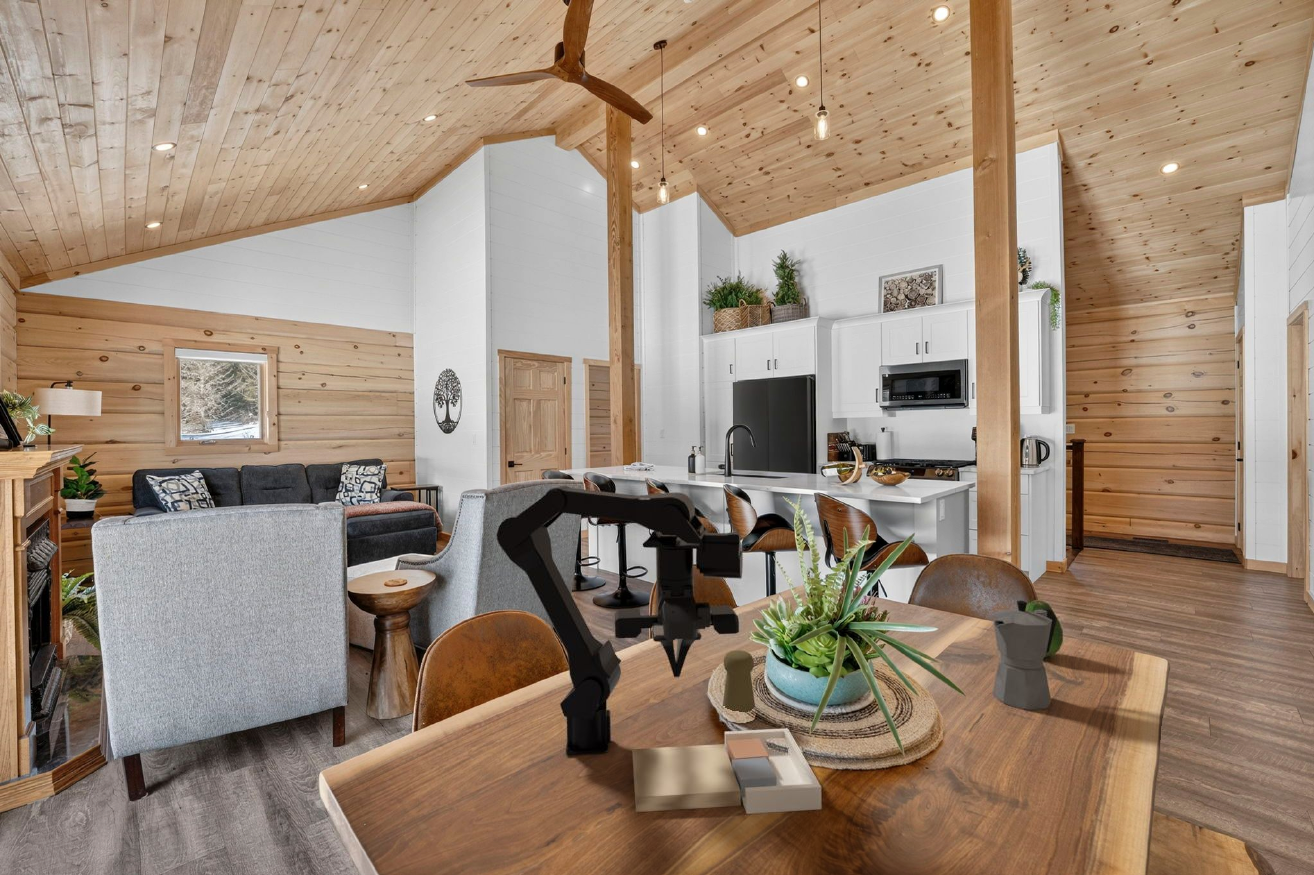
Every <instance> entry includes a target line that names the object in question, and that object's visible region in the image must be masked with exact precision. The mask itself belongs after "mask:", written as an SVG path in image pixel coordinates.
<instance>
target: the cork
mask: <svg viewBox="0 0 1314 875" xmlns="http://www.w3.org/2000/svg"><path fill="white" fill-rule="evenodd" d="M754 662H755V661H754V657H753V655H752V654H750V652H748V651H746V650H742V649H741V650H740V649H738V650H737V649H736V650H731V651H728V652H726V654H725V655H724V657H723V668H724V670H725V671H726V675H725V684H724V692H723V693H724V694H723V700H722V701H723V702H722V707H723V706H725V708H727V709H730V710H732V711H739V712H748V711H751V710H752V709H753V708H754V707H755V708H756V702H755V695H754V689H753V681H752V675H751V672H752V671H753V670H754V665H755V663H754Z"/></svg>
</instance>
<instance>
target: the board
mask: <svg viewBox="0 0 1314 875" xmlns="http://www.w3.org/2000/svg"><path fill="white" fill-rule="evenodd" d="M632 772H633V788H634V800H635V801H634V803H635V804H634V805H635V813H642V812H644V813H645V812H658V811H659V812H660V811H674V810H675V811H676V810H677V811H678V810H691V809H707V808H724V807H741V804H742V803H741V802H742V799H741V790H740V788H739V785H738V782H737V779H736V776H735V773H734V771H733V768H732V765H731V762H730V759H729V756H728V753H727V751H726V748H725V743H722V744H721V743H720V744H705V745H704V744H703V745H702V744H701V745H686V746H685V745H683V746H667V747H665V746H664V747H650V748H649V747H647V748H632Z"/></svg>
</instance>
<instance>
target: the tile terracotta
mask: <svg viewBox="0 0 1314 875" xmlns="http://www.w3.org/2000/svg"><path fill="white" fill-rule="evenodd" d="M727 753H728V756H729V759H730V762H731V765H732V760H736V759H749V758H762V757H766V758H767V760H768V762H769V755H768V753H767V751H766V750H765V748H764V746H763V744H762V742H761V741H760V739H759V738H755V739H742V740H730V741H727Z"/></svg>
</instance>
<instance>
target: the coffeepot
mask: <svg viewBox="0 0 1314 875" xmlns="http://www.w3.org/2000/svg"><path fill="white" fill-rule="evenodd" d="M1027 605H1028V602H1027V601H1025V600H1022V599H1021V600H1017V601H1016V606H1017V609H998V610H996V611H995V612H994V613H992V614H991V615H992V619H993V625H994V626H993V627H994V634H995V640H996V646H997V651H999V652H1000V659H999V661H998V664H997V669H996V673H995V679H994V682H993V688H992V695H993V696H994V697H995V698H996V700H998V701H999V702H1001V703H1003V704H1005V705H1007V706H1009V707H1013V708H1017V709H1021V710H1026V711H1028V710H1029V711H1041V710H1042V711H1043V710H1046V709H1047V708H1048V707H1050V704H1051V702H1052V698H1051V693H1050V686H1049V682H1048V676H1047V672H1046V667H1045V666H1044V659H1045V658H1046V657H1045V656H1046V653H1048V652H1049V650H1050V646H1051V642H1052V638H1053V633H1054V629H1055V626H1056V622H1057V619H1058V617H1057V615H1056V613H1055V612H1054V610H1053V609H1052V610H1053V611H1052V610H1051V609H1048V608H1047V609H1043V610H1034V612H1030V611H1025V610H1026V607H1027ZM1053 612H1054V613H1055V614H1054V613H1053ZM1055 615H1056V616H1055ZM1056 617H1057V618H1056Z"/></svg>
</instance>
